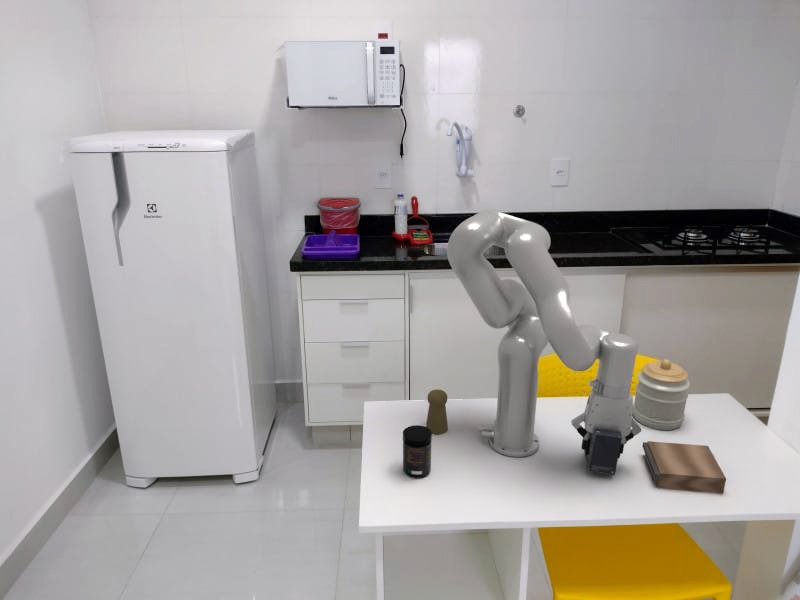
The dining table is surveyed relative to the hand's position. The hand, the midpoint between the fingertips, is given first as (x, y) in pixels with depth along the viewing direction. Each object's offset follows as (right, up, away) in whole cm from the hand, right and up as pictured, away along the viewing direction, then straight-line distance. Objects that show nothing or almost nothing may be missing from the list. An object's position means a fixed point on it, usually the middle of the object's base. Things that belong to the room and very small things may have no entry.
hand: (601, 452), depth 148 cm
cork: (-38, +2, +17) cm, 42 cm away
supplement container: (-44, -4, 0) cm, 44 cm away
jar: (+22, +4, +22) cm, 31 cm away
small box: (0, -2, +1) cm, 2 cm away
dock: (+19, -4, -2) cm, 19 cm away
